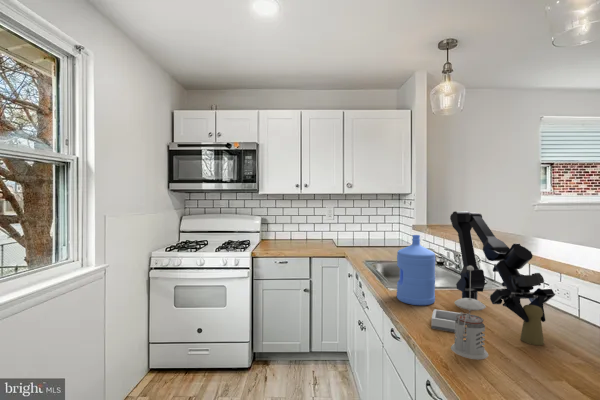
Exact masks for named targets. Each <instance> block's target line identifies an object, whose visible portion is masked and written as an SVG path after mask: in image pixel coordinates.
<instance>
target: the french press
mask: <svg viewBox="0 0 600 400" xmlns="http://www.w3.org/2000/svg"><path fill="white" fill-rule="evenodd" d="M467 270H470V294H471V270H474V267H472V266H468V267H467ZM454 305H455V306H457V307H458V308H461V309H464V310H468V313H464V312H463V311H460V312H459V313H460V314H458V315H457V316H456V317H457V319H456V320H455V328H456V329H455V332H456V333H455V332H454V343H453V344H452V345H451V347H450V349H451V351H452V352H454V353H455V355H458V356H461V358H462V357H463V358H466V359H467V358H468V359H470V360H484V359H487V358H488V357H489V353H488V352H487V350H486V349H485V344H486V343H485V342H484V341H485V340H486V339H485V336H486V335H485V333H486V325H485V324H484V321H485V320H484V319H483V318H482V317H481V316H479V315H475V314H471V311H482V310H485V309H486V305H485V304H484V303H483V302H481V301H480V300H479V299H477V300H475V299H472V298H462V297H461V298H458V299H457V300H455V301H454ZM462 313H463V314H462ZM461 325H462V326H461ZM463 326H464V328H463ZM463 330H464V332H463Z"/></svg>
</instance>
